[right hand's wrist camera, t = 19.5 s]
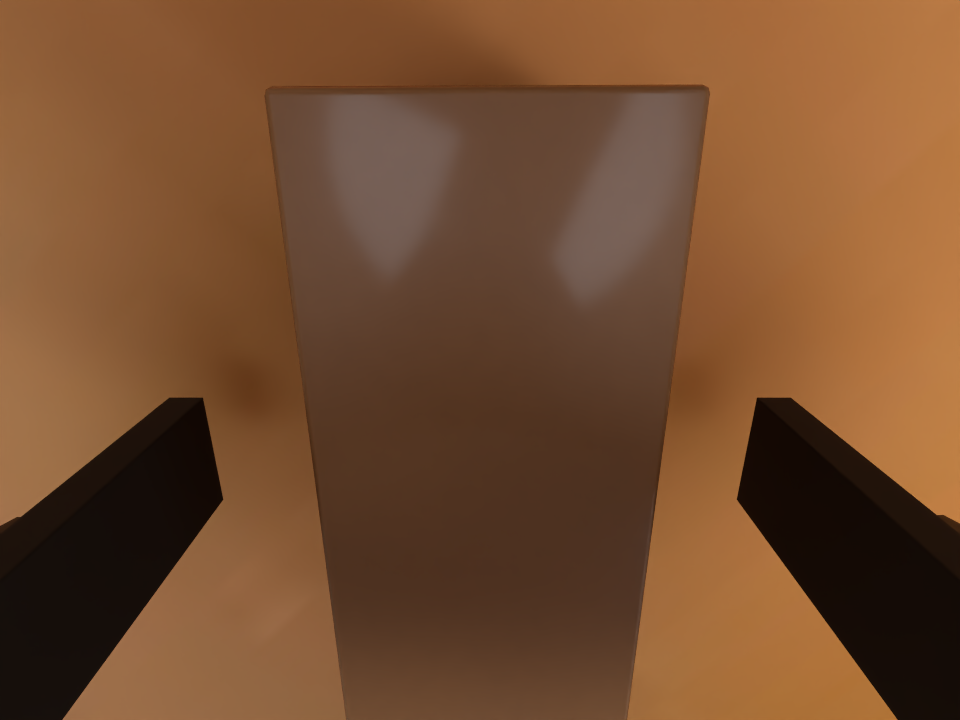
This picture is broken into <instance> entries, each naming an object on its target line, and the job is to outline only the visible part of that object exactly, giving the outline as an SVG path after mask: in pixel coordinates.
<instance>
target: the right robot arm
mask: <svg viewBox="0 0 960 720" xmlns="http://www.w3.org/2000/svg"><path fill="white" fill-rule="evenodd" d="M222 500H223V496H222V491H221V486H220V481H219V476H218V471H217V466H216V461H215V456H214V451H213V446H212V441H211V436H210V431H209V426H208V421H207V416H206V411H205V406H204V401H203V398H168V399H167V400H166V401H165V402H163V403H162V404H161V405H160V406H158V407H157V408H156V409H155V410H154V411H152V412H151V413H150V414H149V415H147V416H146V417H145V418H144V419H142V420H141V421H140V422H139V423H137V424H136V425H135V426H134V427H132V428H131V429H130V430H129V431H127V432H126V433H125V434H124V435H122V436H121V437H120V438H119V439H117V440H116V441H115V442H114V443H112V444H111V445H110V446H109V447H107V448H106V449H105V450H104V451H103V452H101V453H100V454H99V455H98V456H96V457H95V458H94V459H93V460H91V461H90V462H89V463H88V464H86V465H85V466H84V467H83V468H81V469H80V470H79V471H78V472H76V473H75V474H74V475H73V476H71V477H70V478H69V479H68V480H66V481H65V482H64V483H63V484H61V485H60V486H59V487H58V488H56V489H55V490H54V491H53V492H52V493H50V494H49V495H48V496H47V497H45V498H44V499H43V500H42V501H40V502H39V503H38V504H37V505H35V506H34V507H33V508H32V509H30V510H29V511H28V512H27V513H25V514H24V515H23V516H22V517H16V518H15V519H13V520H11V521H9V522H7V523H5V524H3V525H1V526H0V720H62V719H63V718H64V717H65V715H66V714H67V713H68V711H69V710H70V708H71V707H72V706H73V704H74V703H75V702H76V700H77V699H78V697H79V696H80V695H81V693H82V692H83V691H84V689H85V688H86V687H87V685H88V684H89V682H90V681H91V680H92V678H93V677H94V676H95V674H96V673H97V671H98V670H99V669H100V667H101V666H102V665H103V663H104V662H105V661H106V659H107V658H108V656H109V655H110V654H111V652H112V651H113V650H114V648H115V647H116V645H117V644H118V643H119V641H120V640H121V639H122V637H123V636H124V635H125V633H126V632H127V630H128V629H129V628H130V626H131V625H132V624H133V622H134V621H135V619H136V618H137V617H138V615H139V614H140V613H141V611H142V610H143V608H144V607H145V606H146V604H147V603H148V602H149V600H150V599H151V598H152V596H153V595H154V593H155V592H156V591H157V589H158V588H159V587H160V585H161V584H162V582H163V581H164V580H165V578H166V577H167V576H168V574H169V573H170V572H171V570H172V569H173V567H174V566H175V565H176V563H177V562H178V561H179V559H180V558H181V556H182V555H183V554H184V552H185V551H186V550H187V548H188V547H189V546H190V544H191V543H192V541H193V540H194V539H195V537H196V536H197V535H198V533H199V532H200V530H201V529H202V528H203V526H204V525H205V524H206V522H207V521H208V520H209V518H210V517H211V515H212V514H213V513H214V511H215V510H216V509H217V507H218V506H219V504H220V503H221V502H222ZM737 500H738V502H739V503H740V504H741V506H742V507H743V509H744V510H745V511H746V513H747V514H748V515H749V517H750V518H751V520H752V521H753V522H754V524H755V525H756V526H757V528H758V529H759V530H760V532H761V533H762V535H763V536H764V537H765V539H766V540H767V541H768V543H769V544H770V546H771V547H772V548H773V550H774V551H775V552H776V554H777V555H778V556H779V558H780V559H781V561H782V562H783V563H784V565H785V566H786V567H787V569H788V570H789V572H790V573H791V574H792V576H793V577H794V578H795V580H796V581H797V582H798V584H799V585H800V587H801V588H802V589H803V591H804V592H805V593H806V595H807V596H808V598H809V599H810V600H811V602H812V603H813V604H814V606H815V607H816V608H817V610H818V611H819V613H820V614H821V615H822V617H823V618H824V619H825V621H826V622H827V624H828V625H829V626H830V628H831V629H832V630H833V632H834V633H835V634H836V636H837V637H838V639H839V640H840V641H841V643H842V644H843V645H844V647H845V648H846V650H847V651H848V652H849V654H850V655H851V656H852V658H853V659H854V660H855V662H856V663H857V665H858V666H859V667H860V669H861V670H862V671H863V673H864V674H865V676H866V677H867V678H868V680H869V681H870V682H871V684H872V685H873V686H874V688H875V689H876V691H877V692H878V693H879V695H880V696H881V697H882V699H883V700H884V702H885V703H886V704H887V706H888V707H889V708H890V710H891V711H892V712H893V714H894V715H895V717H896V718H897V719H898V720H960V524H959V523H958V522H956V521H954V520H952V519H950V518H948V517H946V516H944V515H936V514H935V513H933V512H932V511H931V510H930V509H928V508H927V507H926V506H925V505H923V504H922V503H921V502H920V501H918V500H917V499H916V498H915V497H913V496H912V495H911V494H910V493H908V492H907V491H906V490H905V489H904V488H902V487H901V486H900V485H899V484H897V483H896V482H895V481H894V480H892V479H891V478H890V477H889V476H887V475H886V474H885V473H884V472H882V471H881V470H880V469H879V468H877V467H876V466H875V465H874V464H872V463H871V462H870V461H869V460H867V459H866V458H865V457H864V456H862V455H861V454H860V453H859V452H858V451H856V450H855V449H854V448H853V447H851V446H850V445H849V444H848V443H846V442H845V441H844V440H843V439H841V438H840V437H839V436H838V435H836V434H835V433H834V432H833V431H831V430H830V429H829V428H828V427H826V426H825V425H824V424H823V423H821V422H820V421H819V420H818V419H816V418H815V417H814V416H813V415H811V414H810V413H809V412H808V411H807V410H805V409H804V408H803V407H802V406H800V405H799V404H798V403H797V402H795V401H794V400H793V399H792V398H757V401H756V406H755V411H754V416H753V421H752V426H751V431H750V436H749V441H748V446H747V451H746V456H745V461H744V466H743V471H742V476H741V481H740V486H739V491H738V496H737Z"/></svg>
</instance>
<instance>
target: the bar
mask: <svg viewBox="0 0 960 720" xmlns="http://www.w3.org/2000/svg"><path fill="white" fill-rule="evenodd" d="M709 96H710V92H709V88H708V87H706V86H704V85H521V86H283V87H270V88H268V89H266V92H265V102H266V110H267V118H268V125H269V133H270V140H271V148H272V156H273V163H274V171H275V179H276V186H277V194H278V201H279V209H280V217H281V224H282V232H283V240H284V247H285V255H286V263H287V270H288V278H289V285H290V293H291V301H292V308H293V316H294V324H295V331H296V339H297V346H298V354H299V362H300V369H301V377H302V385H303V392H304V400H305V408H306V415H307V423H308V430H309V438H310V446H311V453H312V461H313V469H314V476H315V484H316V492H317V499H318V507H319V514H320V522H321V530H322V537H323V545H324V553H325V560H326V568H327V575H328V583H329V591H330V598H331V606H332V614H333V621H334V629H335V637H336V644H337V652H338V659H339V667H340V675H341V682H342V690H343V698H344V705H345V713H346V720H627V715H628V708H629V700H630V692H631V685H632V677H633V670H634V662H635V655H636V647H637V640H638V632H639V625H640V617H641V609H642V602H643V594H644V587H645V579H646V572H647V564H648V557H649V549H650V542H651V534H652V526H653V519H654V511H655V504H656V496H657V489H658V481H659V474H660V466H661V459H662V451H663V443H664V436H665V428H666V421H667V413H668V406H669V398H670V391H671V383H672V376H673V368H674V360H675V353H676V345H677V338H678V330H679V323H680V315H681V308H682V300H683V293H684V285H685V277H686V270H687V262H688V255H689V247H690V240H691V232H692V225H693V217H694V210H695V202H696V194H697V187H698V179H699V172H700V164H701V157H702V149H703V142H704V134H705V127H706V119H707V111H708V104H709Z"/></svg>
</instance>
